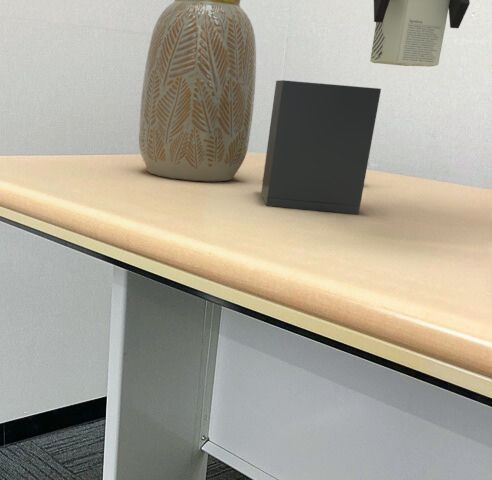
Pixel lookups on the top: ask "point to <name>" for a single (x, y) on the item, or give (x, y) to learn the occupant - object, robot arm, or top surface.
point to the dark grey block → (319, 146)
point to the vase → (198, 91)
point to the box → (410, 33)
